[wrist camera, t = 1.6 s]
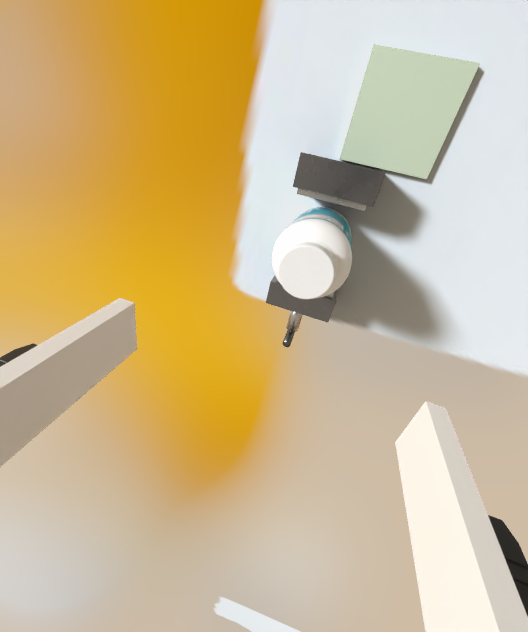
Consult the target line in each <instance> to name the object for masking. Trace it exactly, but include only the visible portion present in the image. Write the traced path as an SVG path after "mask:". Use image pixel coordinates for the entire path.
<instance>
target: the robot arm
mask: <svg viewBox="0 0 528 632" xmlns="http://www.w3.org/2000/svg"><path fill="white" fill-rule="evenodd" d="M135 350H137V339H136V322H135V303H133V302H130V301H127V300H125V299H121V298H119V299H117V300H115V301H114V302H112V303H110V304H109V305H107V306H105V307H103V308H102V309H100V310H98V311H96V312H95V313H93V314H91V315H89V316H88V317H86V318H85V319H83V320H81V321H79V322H77V323H76V324H74V325H72V326H70V327H69V328H67V329H65V330H64V331H62V332H60V333H58V334H57V335H55V336H53V337H52V338H50V339H48V340H46V341H44V342H43V343H41V344H39V345H36V344H31V345H27V346H25V347H21V348H18V349H15V350H13V351H11V352H10V353H8V354H6V355H4V356H2V357H1V358H0V467H1V466H2V465H3V464H4V463H5V462H7V461H8V460H9V459H10V458H11V457H12V456H14V455H15V454H16V453H17V452H18V451H19V450H21V449H22V448H23V447H24V446H25V445H26V444H28V443H29V442H30V441H31V440H32V439H33V438H34V437H36V436H37V435H38V434H39V433H40V432H41V431H43V430H44V429H45V428H46V427H47V426H48V425H49V424H51V423H52V422H53V421H54V420H55V419H57V418H58V417H59V416H60V415H61V414H62V413H63V412H65V411H66V410H67V409H68V408H69V407H70V406H72V405H73V404H74V403H75V402H76V401H77V400H78V399H80V398H81V397H82V396H83V395H84V394H86V393H87V392H88V391H89V390H90V389H91V388H92V387H94V386H95V385H96V384H97V383H98V382H99V381H101V380H102V379H103V378H104V377H105V376H106V375H108V374H109V373H110V372H111V371H112V370H113V369H115V368H116V367H117V366H118V365H119V364H120V363H121V362H123V361H124V360H125V359H126V358H127V357H128V356H129V355H131V354H132V353H133V352H134V351H135ZM395 444H396V449H397V456H398V462H399V468H400V474H401V481H402V487H403V493H404V500H405V506H406V512H407V518H408V524H409V530H410V537H411V543H412V550H413V556H414V561H415V568H416V575H417V581H418V587H419V593H420V600H421V606H422V612H423V618H424V625H425V631H426V632H528V564H527V561H526V559H525V557H524V555H523V552H522V550H521V548H520V546H519V543H518V542H517V541H516V539H515V538H514V536H513V535H512V534H511V532H510V531H509V529H508V528H507V526H506V525H505V524H504V522H503V521H502V520H500V519H497V518H494V517H491V516H489V515H488V514H487V512H486V509H485V507H484V504H483V501H482V499H481V496H480V494H479V491H478V489H477V486H476V484H475V481H474V478H473V476H472V473H471V471H470V468H469V466H468V463H467V461H466V458H465V455H464V453H463V450H462V448H461V445H460V443H459V440H458V437H457V435H456V432H455V430H454V427H453V425H452V422H451V420H450V417H449V414H448V412H447V410H446V408H445V407H442V406H439V405H436V404H433V403H430V402H427V401H426V402H425V403H424V404H423V406H422V407H421V408H420V410H419V411H418V412H417V414H416V415H415V417H414V418H413V419H412V421H411V422H410V423H409V425H408V426H407V427H406V429H405V430H404V432H403V433H402V434H401V435H400V437H399V438H398V439H397V441H396V442H395Z"/></svg>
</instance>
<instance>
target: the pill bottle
mask: <svg viewBox="0 0 528 632" xmlns="http://www.w3.org/2000/svg"><path fill="white" fill-rule="evenodd" d="M272 266H273V270H274V273H275V276H276V278H277V279H278V281H279V282H280V284H281V285H282V286H283V288H284V289H285V290H286V291H287V292H288V293H289V294H291V295H292V296H294V297H297V298H300V299H313V298H321V297H324V296H327V295H329V294H331V293H333V292H334V291H336V290H337V289H338V288H340V287H341V286H342V284H343V283H344V282H345V280H346V279H347V277H348V275H349V272H350V269H351V266H352V235H351V229H350V226H349V224H348V222H347V220H346V219H345V218H344V216H343V215H341V214H340V213H339V212H337V211H336V210H333V209H331V208H327V207H317V208H312V209H310V210H307V211H306V212H304V213H303V214H301V215H300V216H299V217H298V218H297V219H296V220H295V221H294V222H293V223H292V224H291V225H290V226H289V227H287V228H286V229H285V230H284V231H283V233H282V234H281V235H280V236H279V238H278V239H277V241H276V243H275V246H274V249H273V253H272Z"/></svg>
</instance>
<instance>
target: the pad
mask: <svg viewBox="0 0 528 632" xmlns="http://www.w3.org/2000/svg"><path fill="white" fill-rule="evenodd" d="M479 65H480V63H476V62H470V61H464V60H459V59H453V58H447V57H442V56H436V55H430V54H424V53H419V52H413V51H407V50H402V49H396V48H390V47H384V46H379V45H374V46H373V50H372V53H371V56H370V60H369V63H368V66H367V70H366V73H365V76H364V80H363V83H362V86H361V90H360V93H359V96H358V100H357V103H356V106H355V110H354V113H353V116H352V120H351V123H350V126H349V130H348V133H347V136H346V140H345V143H344V146H343V150H342V153H341V156H340V159H341V160H346V161H350V162H354V163H359V164H363V165H367V166H371V167H376V168H380V169H384V170H388V171H393V172H397V173H401V174H406V175H410V176H414V177H418V178H423V179H427V177H428V175H429V173H430V171H431V169H432V167H433V164H434V162H435V160H436V158H437V156H438V154H439V151H440V149H441V147H442V145H443V143H444V141H445V138H446V136H447V134H448V132H449V130H450V128H451V125H452V123H453V121H454V119H455V117H456V115H457V112H458V110H459V108H460V106H461V104H462V102H463V99H464V97H465V95H466V93H467V91H468V89H469V86H470V84H471V82H472V80H473V78H474V76H475V73H476V71H477V69H478V67H479Z"/></svg>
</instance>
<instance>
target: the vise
mask: <svg viewBox="0 0 528 632" xmlns="http://www.w3.org/2000/svg"><path fill="white" fill-rule="evenodd" d="M385 173H386V172H383V171H379V170H374V169H370V168H366V167H362V166H357V165H353V164H349V163H345V162H340V161H336V160H332V159H328V158H323V157H319V156H315V155H311V154H306V153H302V152H301V154H300V158H299V162H298V167H297V171H296V175H295V180H294V184H293V187H297V188H298V191H297V194H300V195H304V196H308V197H312V198H315V199H319V200H323V201H327V202H331V203H335V204H339V205H343V206H347V207H351V208H354V209H358V210H362V211H365V209H366V207H367V205H368V206H372V207H373V204H374V202H375V199H376V196H377V194H378V191H379V189H380V186H381V183H382V181H383V178H384V176H385ZM336 297H337V290H336V291H334V292H333V293H331V294H329V295H327V296H324V297H321V298H313V299H300V298H297V297H294V296H292V295H291V294H289V293H288V292H287V291H286V290H285V289H284V288H283V286H282V285H281V284H280V282H279V281H278V279H277V278H276V276H274V278H273V279H272V281H271V283H270V287H269V292H268V296H267V300H266V303H268V304H271V305H274V306H278V307H281V308H284V309H287V310H290V311H291V313H290V317H289V320H288V323H287V329H288V331H287V333H286V336H285V338H284V341H283V345H284V346H285V347H289V346H290V344H291V341H292V338H293V336H294V333H295V332H296V331H297V330H298V327H299V324H300V321H301V318H302V315H306V316H309V317H312V318H316V319H319V320H322V321H325V322H328V321H329V318H330V316H331V313H332V310H333V308H334V305H335V303H336Z"/></svg>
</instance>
